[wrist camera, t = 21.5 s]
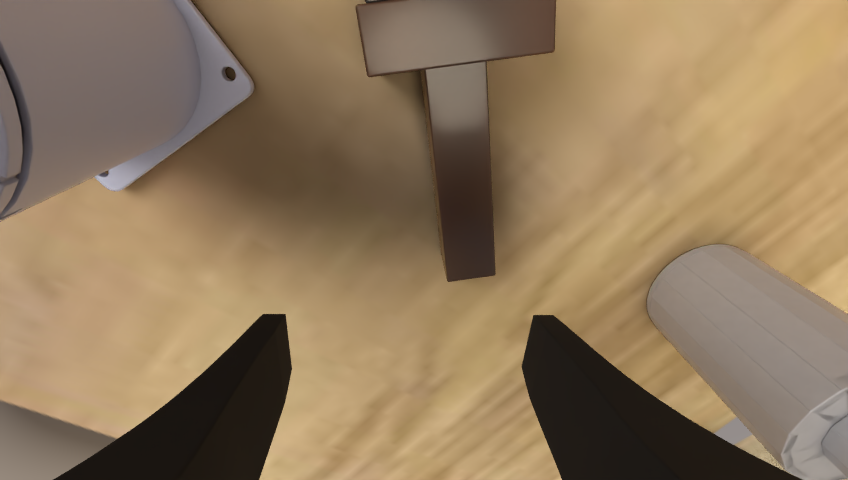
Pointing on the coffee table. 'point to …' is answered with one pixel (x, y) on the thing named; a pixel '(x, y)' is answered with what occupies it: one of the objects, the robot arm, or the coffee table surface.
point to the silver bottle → (762, 352)
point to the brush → (456, 99)
